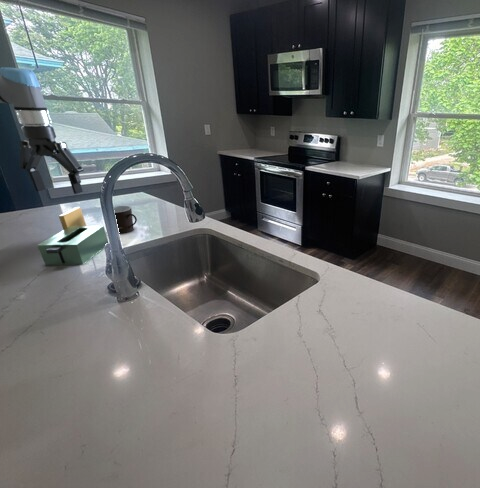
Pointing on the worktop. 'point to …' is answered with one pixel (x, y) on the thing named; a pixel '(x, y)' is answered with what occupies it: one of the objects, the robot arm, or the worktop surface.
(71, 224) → the toast
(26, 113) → the robot arm
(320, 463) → the worktop surface
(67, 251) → the toaster
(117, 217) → the coffee mug
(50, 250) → the toaster lever
